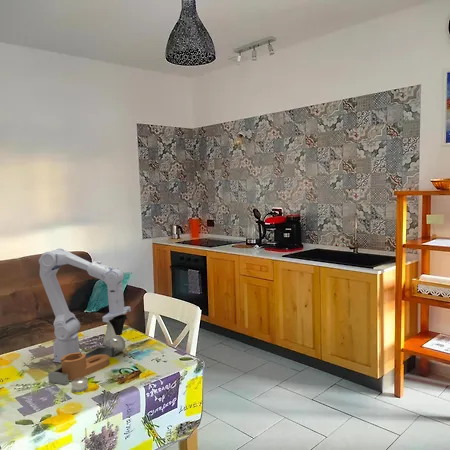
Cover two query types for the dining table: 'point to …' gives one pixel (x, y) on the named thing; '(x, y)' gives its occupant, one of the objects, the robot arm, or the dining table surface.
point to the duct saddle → (109, 348)
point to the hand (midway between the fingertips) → (118, 334)
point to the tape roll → (79, 384)
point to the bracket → (83, 364)
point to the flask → (109, 332)
